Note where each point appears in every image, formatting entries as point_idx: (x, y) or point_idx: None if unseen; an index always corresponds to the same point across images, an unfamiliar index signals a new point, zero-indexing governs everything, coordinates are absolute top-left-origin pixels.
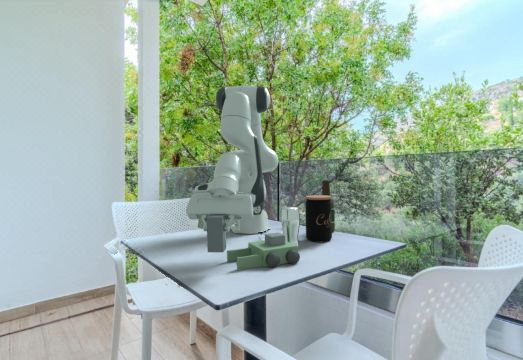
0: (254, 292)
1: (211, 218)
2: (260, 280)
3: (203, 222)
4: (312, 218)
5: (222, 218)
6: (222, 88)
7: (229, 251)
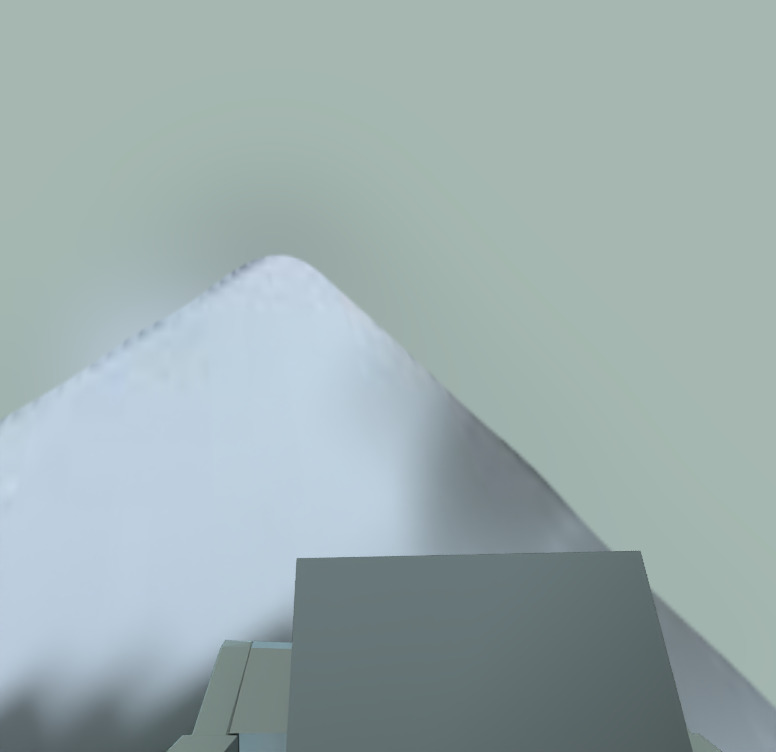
0: (140, 340)
1: (528, 555)
2: (86, 495)
3: (711, 744)
4: None
5: (297, 583)
6: None
7: None
